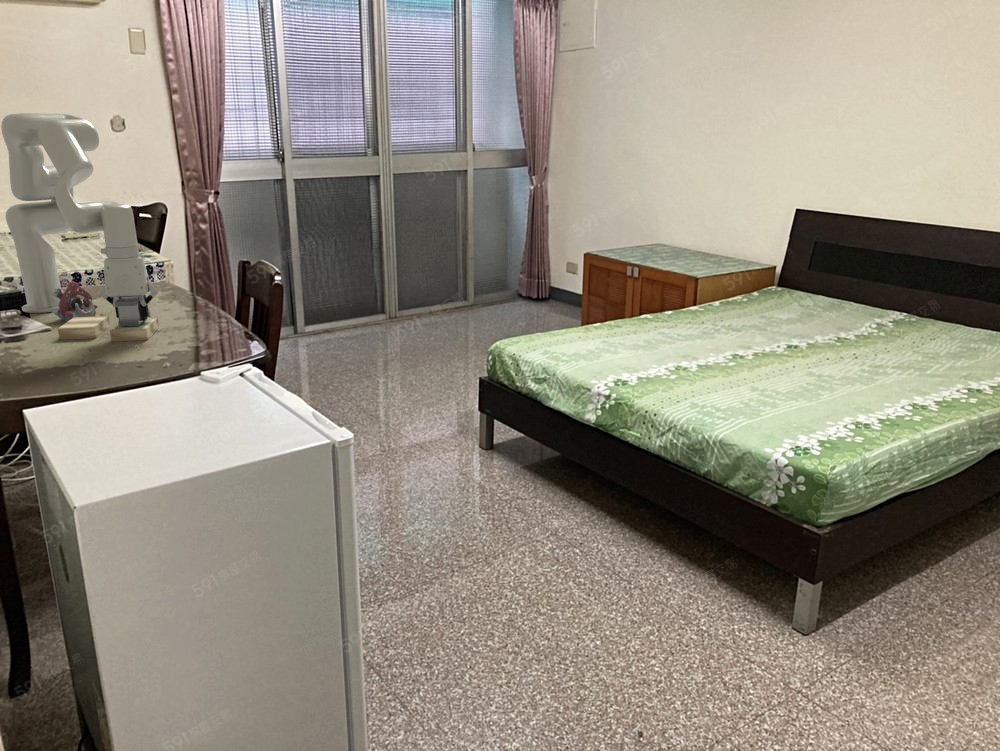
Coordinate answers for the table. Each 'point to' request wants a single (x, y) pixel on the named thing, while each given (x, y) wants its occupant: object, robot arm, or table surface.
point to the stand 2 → (135, 331)
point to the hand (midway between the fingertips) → (133, 319)
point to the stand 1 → (84, 327)
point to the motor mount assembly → (74, 303)
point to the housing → (129, 311)
